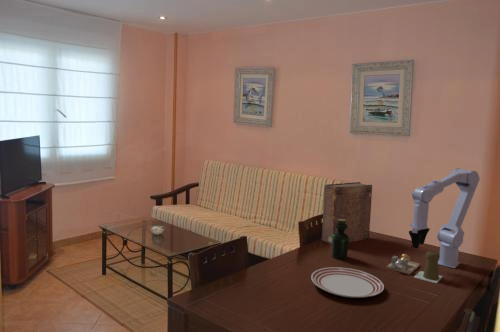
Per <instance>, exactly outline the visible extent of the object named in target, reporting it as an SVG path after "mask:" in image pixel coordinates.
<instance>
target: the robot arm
mask: <svg viewBox="0 0 500 332" xmlns="http://www.w3.org/2000/svg"><path fill="white" fill-rule="evenodd" d="M479 182H480V176H479V173H478V171H477V170H468V169H464V168H458V167H456V168H454V169H453V170H451V172H450V173H449V174H448V175H446V176H445V177H443V178H441V179H440V180H437V179H432V180H431V182H429V183H427V184H424V185H423V186H422V187H421V186H420V187H419V186H418V187H416V188H415V189H414V190H413V191H412V193H411V196H412V200H413V205H414V207H413V216H412V217H413V219H412V223H410V224H409V226H411V230H409V231H408V235H409V236H410V239H411V246H412V248H414V249H419V247H420V245H424V244H425V241H426V237H427V235H428V233H429V232H430V228H429V227H428V217H429V209H430V207H429V204H430V203H431V202H432V200H433V198H435V197H436V196H437V195H439V194H441V193H442V192H443V191H444V189H445V188H446V187H449V186H451V185H453V184H456V186H457V187H458V189H459V190H460V192H459V195H458V197H457V200H456V203H455V205H454V207H453V210H452V212H451V215H450V218H449V220H448V222H446V223H445V224H443V225H441V228H440V229H439V231H438V232H437V235H436V237H437V240H438V241H439V244H440V245H439V247H440V248H439V255H440V258H439V260H438V266H439V265H440V266H442V267H448V268H452V269H456V267H458V266H459V265H460V263H461V262H460V261H458V260H459V251H460V250H459V248H460V247H461V245H462V244H463V243H464V236H465V232H464V230H463V228H462V225H463V222H464V221H465V218H466V215H467V212H468V210H469V208H470V205H471V202H472V200H473V198H474V195H475V192H476V189H477V187H478V184H479Z"/></svg>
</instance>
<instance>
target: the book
mask: <svg viewBox="0 0 500 332" xmlns="http://www.w3.org/2000/svg"><path fill="white" fill-rule="evenodd" d="M323 189H324V190H323V206H322V207H323V208H322V225H321V226H322V227H321V230H322V231H321V241H322V242H325V243H327V244H330V245H332V236H333V234H335V233H337V232H338V230H337V228H336V227H335V225H336V224H337V223H338V219H345V220H346V222H345V224H347V226H348V228H346V229H345V232H344V233H345V234H347V235H348V236H349V238H350V239H349V244H350V243H353V242H354V243H355V242H362V241H366V240H367V241H369V240H370V230H371V229H370V227H371V212H372V198H373V197H372V196H373V184H364V183H361V181H356V182H342V183H341V182H340V183H331V184H324V187H323Z"/></svg>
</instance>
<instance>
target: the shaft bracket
mask: <svg viewBox="0 0 500 332" xmlns="http://www.w3.org/2000/svg"><path fill="white" fill-rule="evenodd" d="M398 260H400V258H399V256H396V255H393V256H392V257H391V263H389V264H387V265H386V270H391V271H394V272H399V273H403V274H405V275H410V274H412V273H413V272H414V271H416V270H417V268H420V266H421V263H419V262H415V261H411V260H410V261H409V262H408V259H406V258H404V259H403V260H402V264H401V265H400V266H399V267H395V265H394V264H395V263H396V262H397V261H398Z"/></svg>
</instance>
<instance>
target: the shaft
mask: <svg viewBox="0 0 500 332" xmlns="http://www.w3.org/2000/svg"><path fill="white" fill-rule="evenodd" d="M404 258H406V259H408V262H409V261H411V257H410V255H409V254H407V253H403V254H401V255H400V256H399V259H400V260H398V261H397V262H396V263H395V264H394V265H395V267H399V266H400V265H401V264H402V260H403V259H404Z"/></svg>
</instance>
